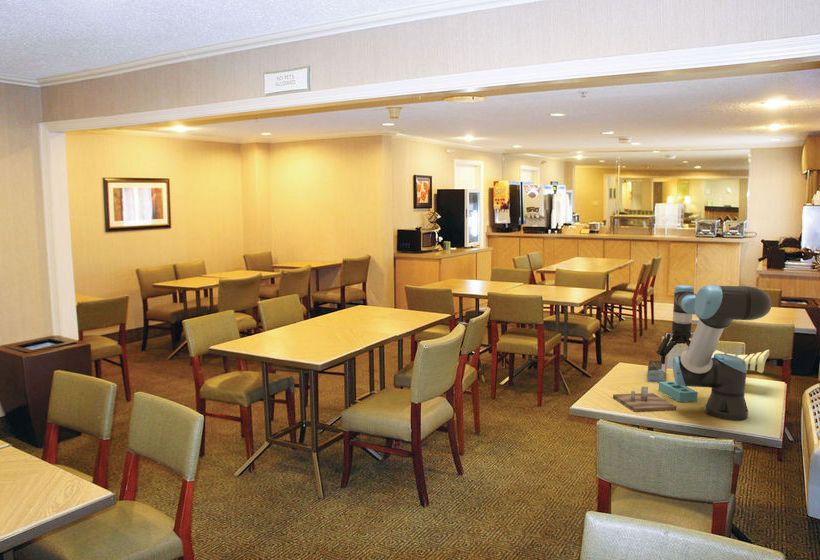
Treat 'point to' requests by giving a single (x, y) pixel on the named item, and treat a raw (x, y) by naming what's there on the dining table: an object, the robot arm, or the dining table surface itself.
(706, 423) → the dining table surface
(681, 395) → the teal block with holes
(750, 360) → the slatted curved stool
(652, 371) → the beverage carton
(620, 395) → the post base
